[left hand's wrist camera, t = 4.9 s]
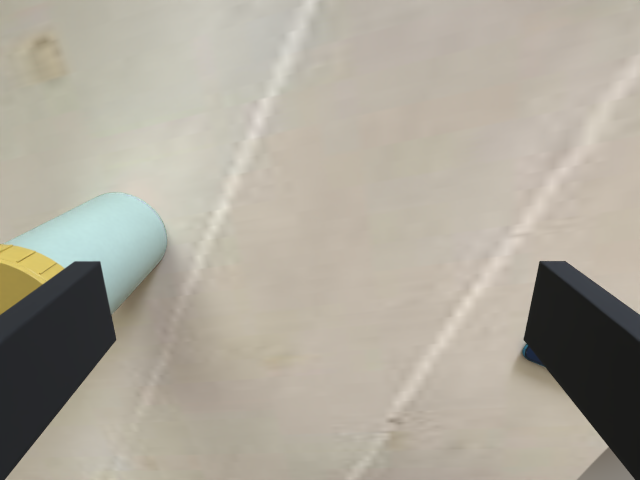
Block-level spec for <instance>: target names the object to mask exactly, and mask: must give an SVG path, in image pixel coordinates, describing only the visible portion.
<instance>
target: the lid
mask: <svg viewBox="0 0 640 480" xmlns="http://www.w3.org/2000/svg"><path fill="white" fill-rule="evenodd" d="M63 269H65V268H63V267H62V266H61V265H60V264H58V263H57V262H55V261H54V260H52V259H50V258H48V257H46V256H45V255H43V254H41V253H38V252H36V251H33V250H30V249H27V248H23V247H20V246H14V245H5V244H0V315H1V314H2V313H4V312H5V311H6V310H8V309H9V308H10V307H12V306H13V305H15V304H16V303H17V302H19V301H20V300H22V299H23V298H24V297H26V296H27V295H29V294H30V293H31V292H33V291H34V290H35V289H37V288H38V287H40V286H41V285H42V284H44V283H45V282H47V281H48V280H49V279H51V278H52V277H54V276H55V275H56V274H58V273H59V272H60V271H62V270H63Z"/></svg>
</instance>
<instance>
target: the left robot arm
mask: <svg viewBox="0 0 640 480" xmlns="http://www.w3.org/2000/svg"><path fill="white" fill-rule="evenodd" d="M115 341H116V336H115V331H114V326H113V321H112V316H111V311H110V306H109V301H108V297H107V292H106V287H105V282H104V277H103V272H102V267H101V262H100V261H74V262H73V263H72V264H70V265H69V266H67V267H66V268H65V269H63V270H62V271H60V272H59V273H58V274H56V275H55V276H54V277H52V278H51V279H49V280H48V281H47V282H45V283H44V284H42V285H41V286H40V287H38V288H37V289H35V290H34V291H33V292H31V293H30V294H29V295H27V296H26V297H24V298H23V299H22V300H20V301H19V302H17V303H16V304H15V305H13V306H12V307H10V308H9V309H8V310H6V311H5V312H4V313H2V314H1V315H0V480H5V479H6V477H7V476H8V475H9V474H10V472H11V471H12V470H13V469H14V467H15V466H16V465H17V464H18V462H19V461H20V460H21V459H22V457H23V456H24V455H25V454H26V452H27V451H28V450H29V449H30V447H31V446H32V445H33V444H34V442H35V441H36V440H37V439H38V437H39V436H40V435H41V434H42V432H43V431H44V430H45V429H46V427H47V426H48V425H49V424H50V422H51V421H52V420H53V419H54V417H55V416H56V415H57V414H58V412H59V411H60V410H61V409H62V407H63V406H64V405H65V404H66V402H67V401H68V400H69V398H70V397H71V396H72V395H73V393H74V392H75V391H76V390H77V388H78V387H79V386H80V385H81V383H82V382H83V381H84V380H85V378H86V377H87V376H88V375H89V373H90V372H91V371H92V370H93V368H94V367H95V366H96V365H97V363H98V362H99V361H100V360H101V358H102V357H103V356H104V355H105V353H106V352H107V351H108V350H109V348H110V347H111V346H112V345H113V343H114V342H115ZM524 341H525V342H526V343H527V345H528V346H529V347H530V348H531V350H532V351H533V352H534V353H535V355H536V356H537V357H538V358H539V360H540V361H541V362H542V363H543V365H544V366H545V367H546V368H547V370H548V371H549V372H550V373H551V375H552V376H553V377H554V378H555V380H556V381H557V382H558V383H559V385H560V386H561V387H562V388H563V390H564V391H565V392H566V393H567V395H568V396H569V397H570V398H571V400H572V401H573V402H574V404H575V405H576V406H577V407H578V409H579V410H580V411H581V412H582V414H583V415H584V416H585V417H586V419H587V420H588V421H589V422H590V424H591V425H592V426H593V427H594V429H595V430H596V431H597V432H598V434H599V435H600V436H601V437H602V439H603V440H604V441H605V442H606V444H607V445H608V446H609V447H610V449H611V450H612V451H613V452H614V454H615V455H616V456H617V457H618V459H619V460H620V461H621V462H622V464H623V465H624V466H625V467H626V469H627V470H628V471H629V472H630V474H631V475H632V476H633V477H634V479H635V480H640V315H639V314H638V313H636V312H635V311H634V310H632V309H631V308H629V307H628V306H627V305H625V304H624V303H623V302H621V301H620V300H618V299H617V298H616V297H614V296H613V295H611V294H610V293H609V292H607V291H606V290H605V289H603V288H602V287H600V286H599V285H598V284H596V283H595V282H593V281H592V280H591V279H589V278H588V277H586V276H585V275H584V274H582V273H581V272H580V271H578V270H577V269H575V268H574V267H573V266H571V265H570V264H568V263H567V262H566V261H540V262H539V267H538V272H537V277H536V282H535V287H534V292H533V297H532V301H531V306H530V311H529V316H528V321H527V326H526V331H525V336H524Z"/></svg>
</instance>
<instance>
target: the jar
mask: <svg viewBox="0 0 640 480" xmlns="http://www.w3.org/2000/svg"><path fill="white" fill-rule="evenodd" d="M4 244H5V245H14V246H20V247H23V248H27V249H30V250H33V251H36V252H38V253H41V254H43V255H45V256H46V257H48V258H50V259H52V260H54V261H55V262H57V263H58V264H60V265H61V266H62V267H63V268H66V267H67V266H69V265H70V264H72V263H73V262H74V261H100V262H101V267H102V272H103V277H104V282H105V287H106V292H107V297H108V301H109V306H110V311H111V315H112V314H113V313H114V312H115V311H116V310H117V309H118V307H119V306H120V305H121V304H122V303H123V302H124V301H125V300H126V299H127V297H128V296H129V295H130V294H131V293H132V292H133V291H134V290H135V289H136V288H137V286H138V285H139V284H140V283H141V282H142V281H143V280H144V279H145V278H146V276H147V275H148V274H149V273H150V272H151V271H152V270H153V269H154V268H155V266H156V265H157V264H158V263H159V262H160V261H161V259H162V258H163V256H164V253H165V251H166V246H167V235H166V230H165V227H164V224H163V222H162V220H161V218H160V217H159V215H158V214H157V213H156V212H155V210H154V209H153V208H152V207H150V206H149V205H148V204H147V203H145V202H144V201H142V200H141V199H139V198H137V197H134V196H132V195H128V194H124V193H107V194H103V195H100V196H97V197H95V198H93V199H91V200H89V201H87V202H85V203H84V204H82V205H80V206H78V207H76V208H74V209H72V210H70V211H68V212H66V213H64V214H62V215H60V216H58V217H56V218H54V219H52V220H50V221H48V222H46V223H44V224H42V225H40V226H38V227H36V228H34V229H32V230H30V231H28V232H26V233H24V234H22V235H20V236H18V237H16V238H14V239H12V240H10V241H8V242H6V243H4Z"/></svg>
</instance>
